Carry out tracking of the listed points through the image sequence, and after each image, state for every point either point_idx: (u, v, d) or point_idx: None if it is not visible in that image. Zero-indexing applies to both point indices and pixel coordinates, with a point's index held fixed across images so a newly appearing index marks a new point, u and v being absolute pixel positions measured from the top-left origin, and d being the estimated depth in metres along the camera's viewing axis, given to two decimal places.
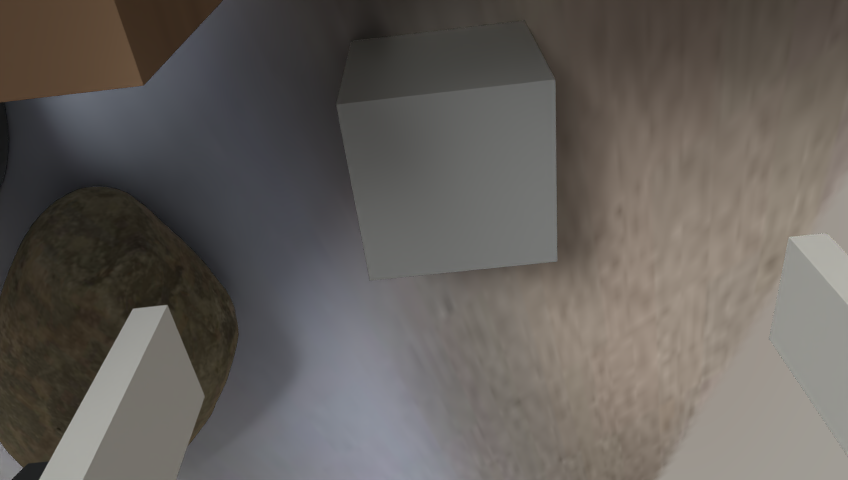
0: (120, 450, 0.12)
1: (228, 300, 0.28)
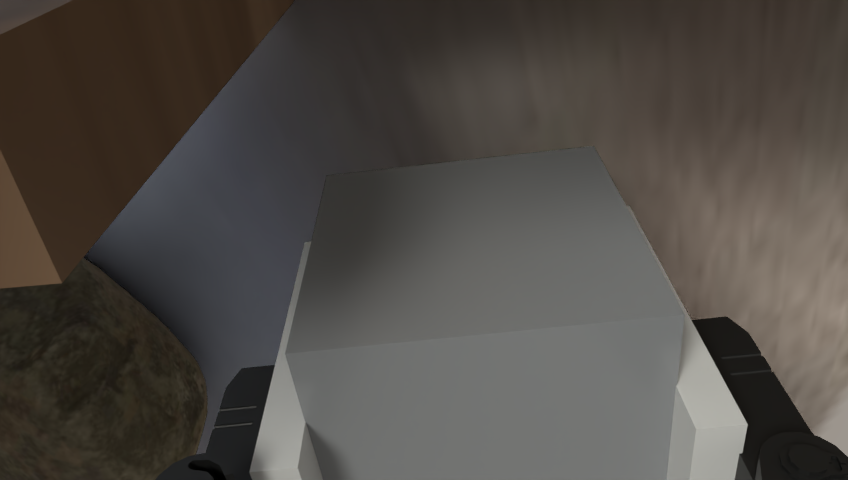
0: None
1: (196, 372, 0.24)
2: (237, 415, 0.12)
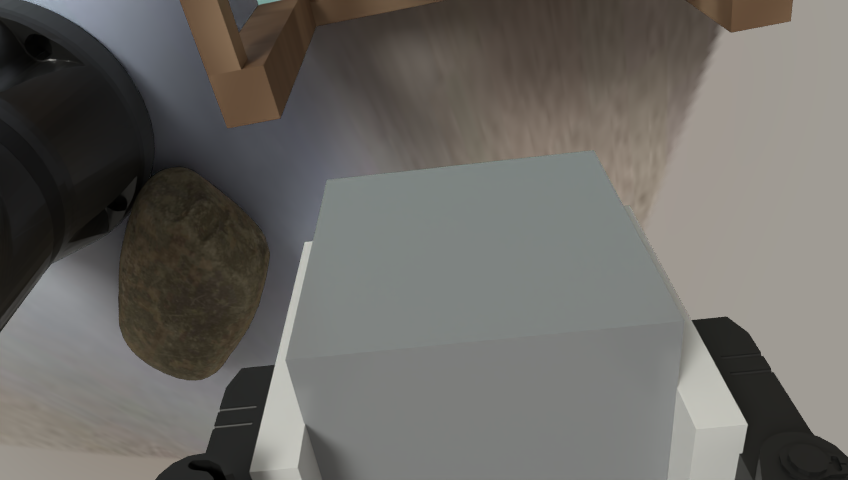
0: None
1: (261, 232, 0.43)
2: (237, 415, 0.12)
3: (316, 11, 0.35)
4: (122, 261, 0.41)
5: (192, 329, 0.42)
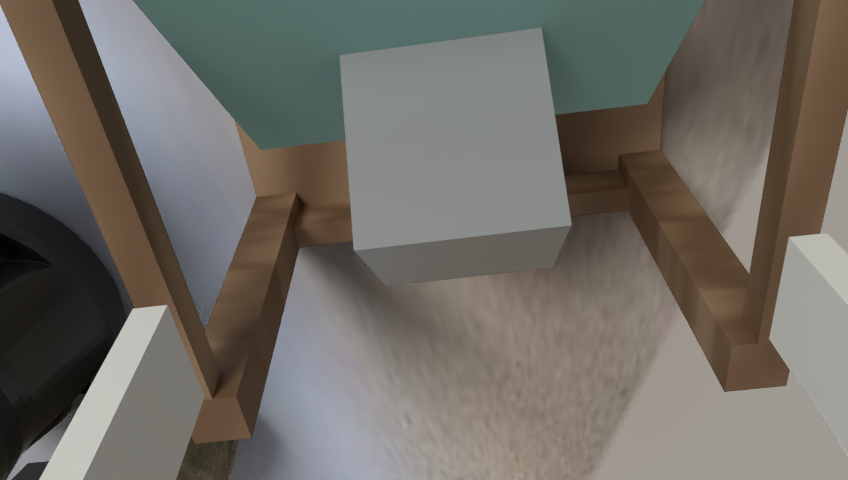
0: (120, 451, 0.12)
1: None
2: None
3: (300, 234, 0.33)
4: None
5: None
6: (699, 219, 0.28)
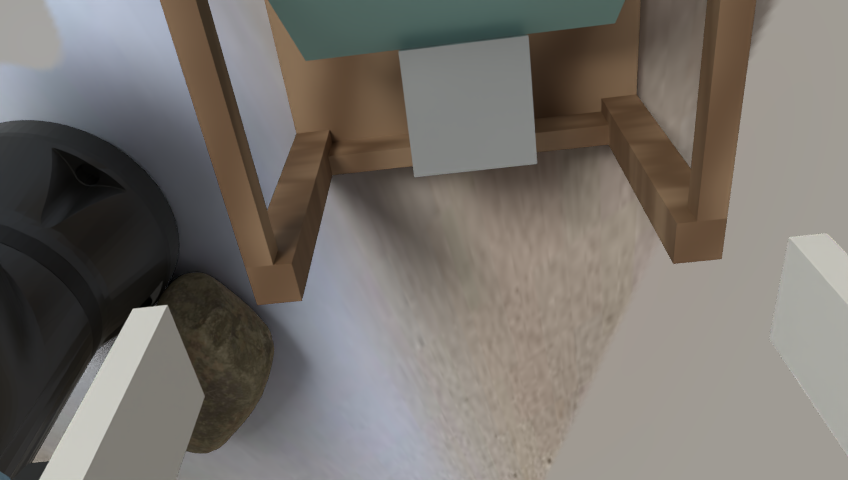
0: (120, 451, 0.12)
1: (267, 330, 0.48)
2: None
3: (333, 163, 0.40)
4: None
5: (202, 415, 0.47)
6: (662, 142, 0.34)
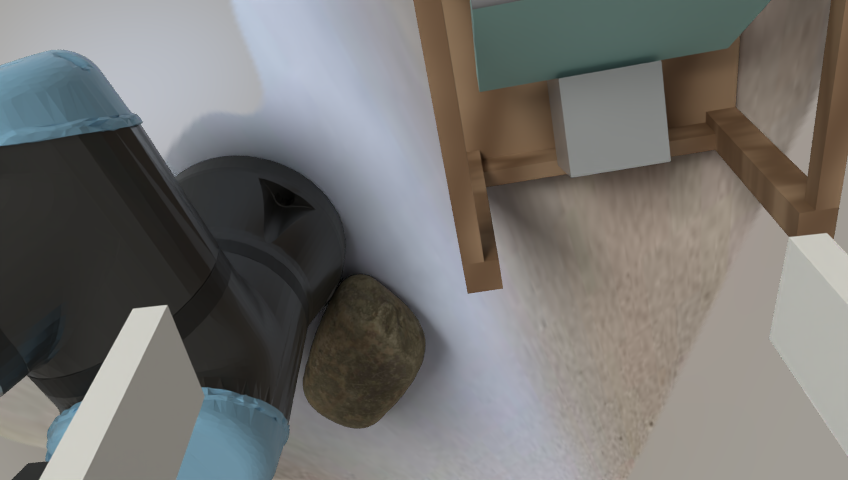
0: (120, 450, 0.12)
1: (417, 320, 0.57)
2: None
3: (487, 178, 0.48)
4: (319, 344, 0.55)
5: (369, 394, 0.56)
6: (770, 147, 0.42)
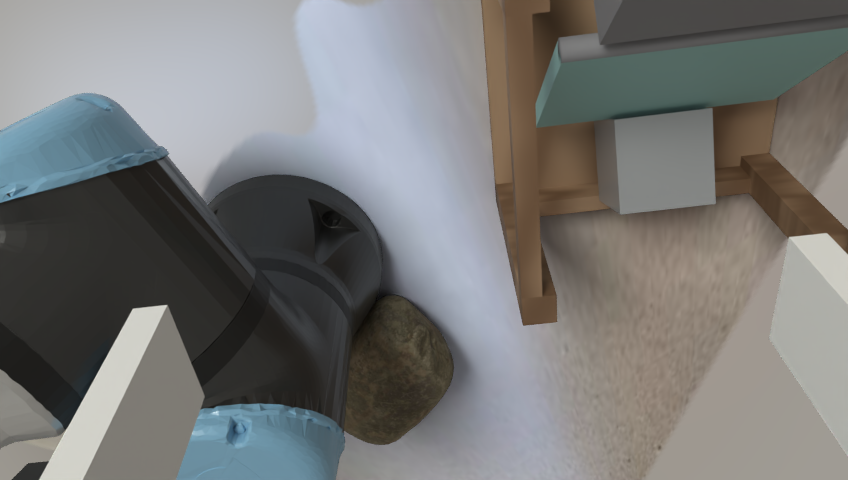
0: (120, 450, 0.12)
1: (445, 342, 0.59)
2: None
3: None
4: (351, 362, 0.56)
5: (396, 412, 0.57)
6: (807, 196, 0.45)
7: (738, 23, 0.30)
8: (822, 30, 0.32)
